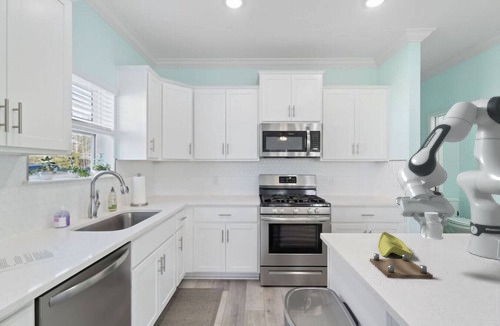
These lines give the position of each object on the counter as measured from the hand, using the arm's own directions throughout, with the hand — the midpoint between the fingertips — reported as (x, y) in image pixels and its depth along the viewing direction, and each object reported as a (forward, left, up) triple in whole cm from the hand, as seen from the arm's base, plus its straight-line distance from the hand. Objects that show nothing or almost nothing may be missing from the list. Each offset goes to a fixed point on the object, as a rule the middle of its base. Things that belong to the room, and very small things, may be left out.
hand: (434, 224), depth 100 cm
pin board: (+14, 0, -18) cm, 23 cm away
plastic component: (+6, -21, -18) cm, 28 cm away
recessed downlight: (0, -1, -5) cm, 5 cm away
